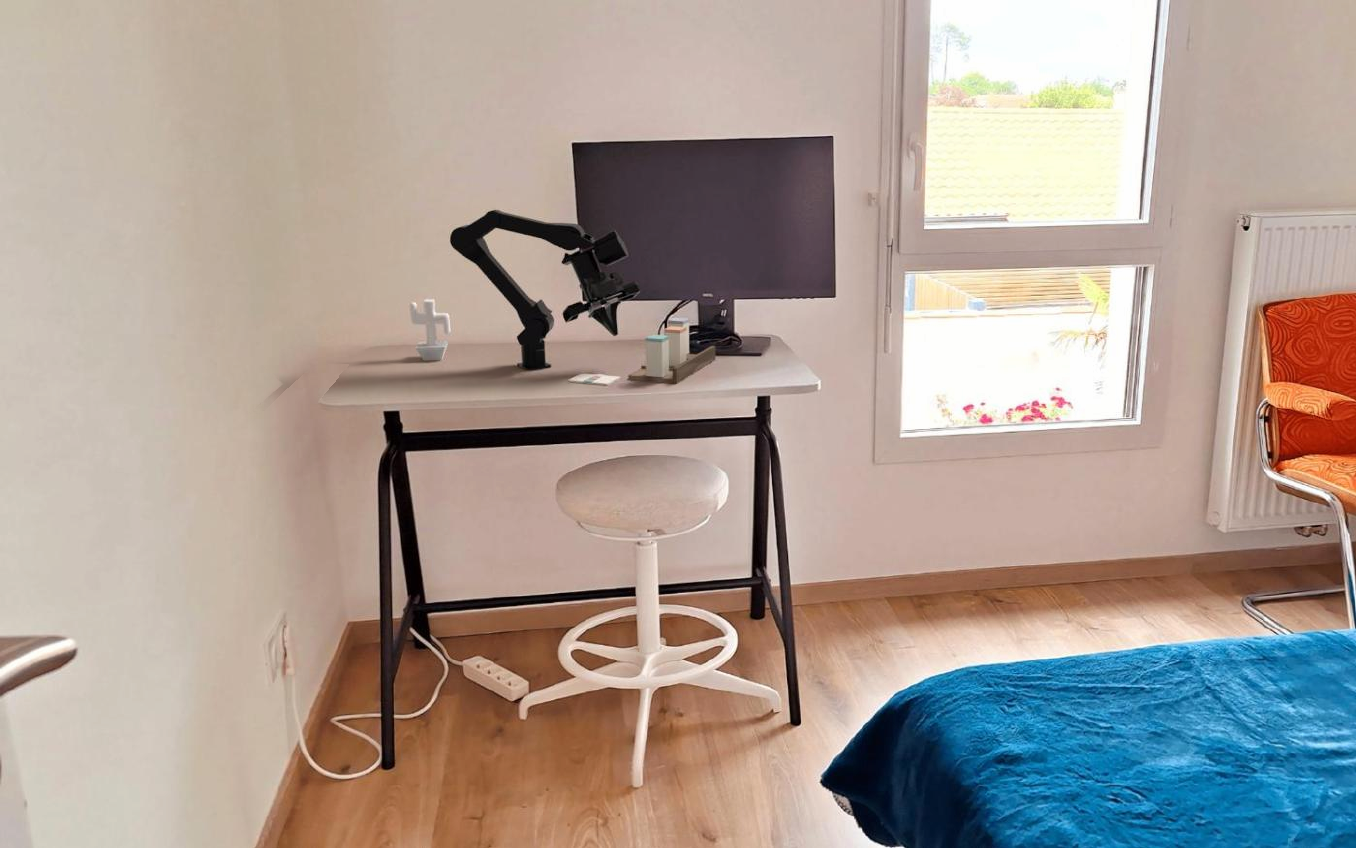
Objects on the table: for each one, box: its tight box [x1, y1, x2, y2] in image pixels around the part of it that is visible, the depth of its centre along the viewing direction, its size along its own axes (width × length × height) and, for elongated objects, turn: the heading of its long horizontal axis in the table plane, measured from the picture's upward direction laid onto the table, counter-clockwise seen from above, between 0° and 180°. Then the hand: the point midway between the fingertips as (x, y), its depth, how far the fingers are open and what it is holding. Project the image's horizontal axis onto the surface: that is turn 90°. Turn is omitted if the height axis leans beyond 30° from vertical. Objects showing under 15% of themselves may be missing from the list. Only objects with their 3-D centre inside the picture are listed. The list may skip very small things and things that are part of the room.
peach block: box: [663, 326, 686, 367], centre depth 233 cm, size 4×4×9 cm
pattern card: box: [567, 373, 622, 386], centre depth 225 cm, size 10×7×1 cm
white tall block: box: [645, 334, 669, 377], centre depth 223 cm, size 4×4×9 cm
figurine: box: [409, 298, 451, 362], centre depth 246 cm, size 7×9×15 cm
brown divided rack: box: [627, 345, 716, 385], centre depth 234 cm, size 12×26×4 cm, turn 158°
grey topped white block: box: [667, 317, 690, 355], centre depth 244 cm, size 4×4×9 cm
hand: (616, 335), depth 231 cm, fingers closed
